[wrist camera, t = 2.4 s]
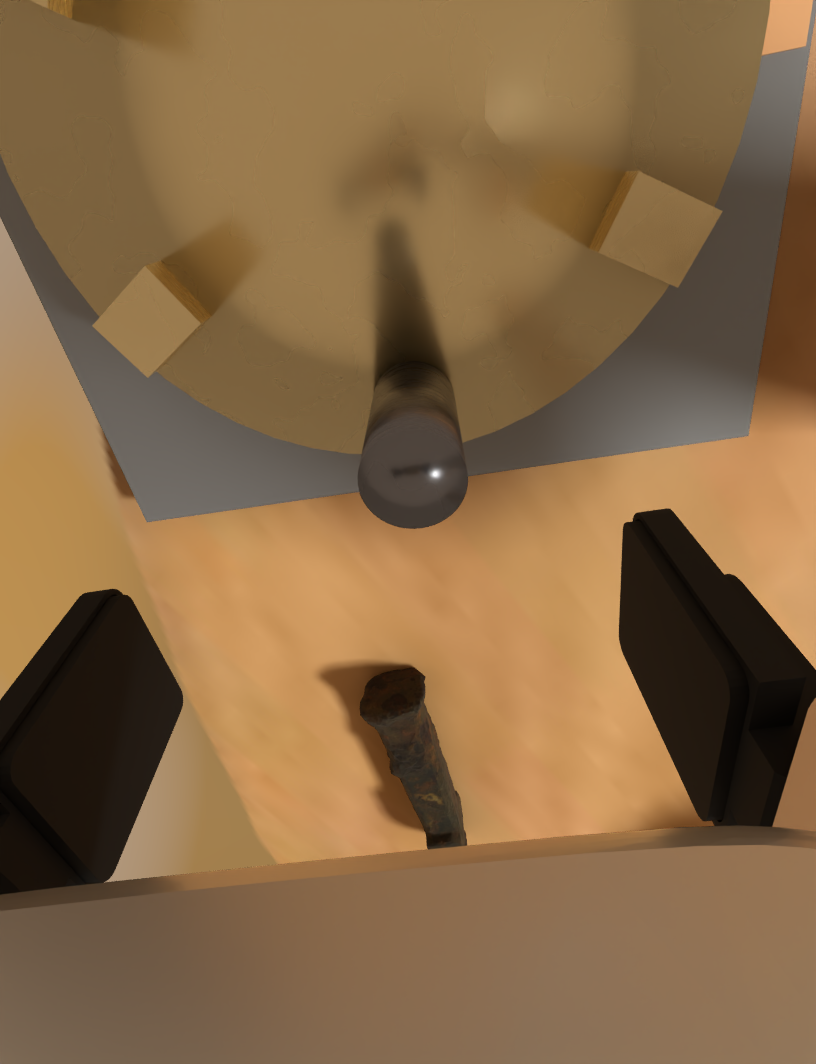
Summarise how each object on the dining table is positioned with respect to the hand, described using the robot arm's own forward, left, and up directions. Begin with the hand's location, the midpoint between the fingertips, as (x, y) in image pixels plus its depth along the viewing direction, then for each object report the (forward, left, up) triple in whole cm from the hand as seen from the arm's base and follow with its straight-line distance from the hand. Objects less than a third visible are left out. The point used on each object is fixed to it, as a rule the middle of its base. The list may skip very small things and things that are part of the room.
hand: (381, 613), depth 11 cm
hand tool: (+2, +28, -18) cm, 33 cm away
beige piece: (-1, -9, -15) cm, 17 cm away
